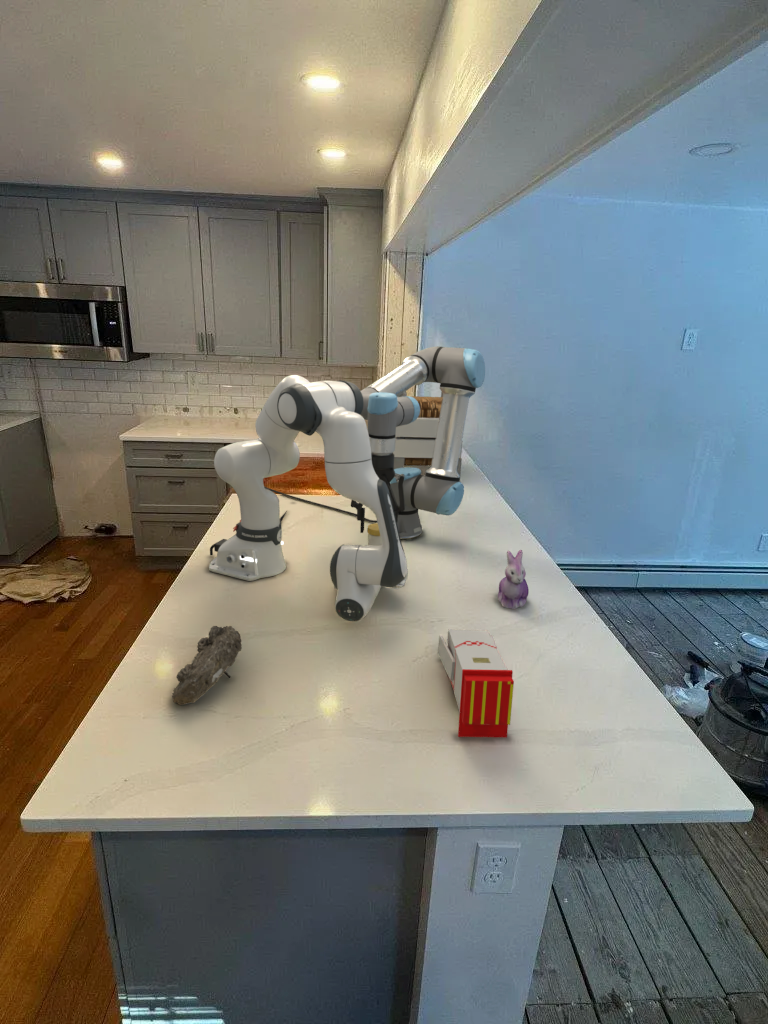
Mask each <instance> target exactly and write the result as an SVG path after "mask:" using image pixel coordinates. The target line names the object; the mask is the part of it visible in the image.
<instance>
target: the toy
mask: <svg viewBox="0 0 768 1024" xmlns="http://www.w3.org/2000/svg"><path fill="white" fill-rule="evenodd" d="M446 640H447V643H446V641H445V639H444V636H443V635H442V634H439V637H438V646H437V656H438V657H439V659H440V661H441V663H442V666H443V668H444V670H445V672H446V674H447V677H448V679H449V681H450V684H451V687H452V690H453V693H454V697H455V701H456V705H457V708H458V711H459V714H458V715H459V716H458V730H457V731H458V732H457V737H458V738H508V731H509V726H510V725H511V717H512V707H513V697H514V696H513V695H514V684H515V680H514V679H513V673H514V671H513V670H512V669H508V667H507V665H506V662H505V661H504V659H503V658H502V655H501V653H500V651H499V649H498V647H497V643H496V639H495V637H494V635H493V634H491V632H490V631H489V629H467V628H466V629H465V628H463V629H461V628H460V629H459V628H448V630H447V639H446Z"/></svg>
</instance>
